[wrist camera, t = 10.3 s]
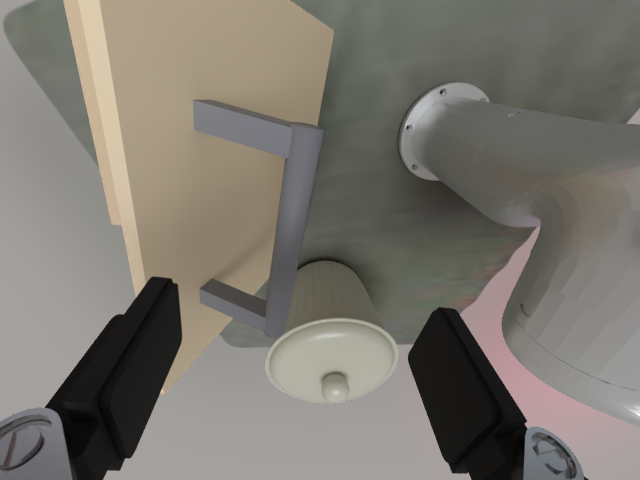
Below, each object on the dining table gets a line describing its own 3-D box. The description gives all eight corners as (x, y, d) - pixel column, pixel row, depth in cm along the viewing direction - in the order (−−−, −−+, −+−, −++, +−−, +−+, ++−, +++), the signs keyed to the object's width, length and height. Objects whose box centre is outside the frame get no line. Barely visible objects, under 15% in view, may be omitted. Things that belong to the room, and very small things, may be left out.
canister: (252, 279, 49) (227, 399, 32) (335, 224, 45) (361, 329, 27) (312, 331, 58) (320, 448, 40) (388, 289, 53) (434, 402, 35)
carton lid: (325, 29, 23) (402, 44, 22) (288, 246, 34) (338, 265, 33) (48, -151, 6) (307, -131, 5) (153, 389, 18) (242, 438, 16)
